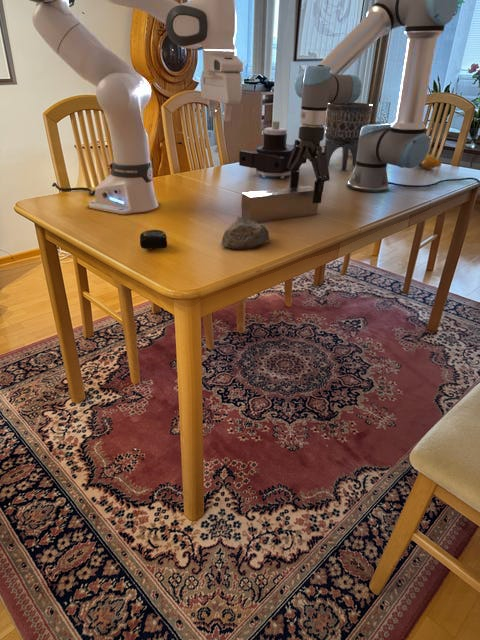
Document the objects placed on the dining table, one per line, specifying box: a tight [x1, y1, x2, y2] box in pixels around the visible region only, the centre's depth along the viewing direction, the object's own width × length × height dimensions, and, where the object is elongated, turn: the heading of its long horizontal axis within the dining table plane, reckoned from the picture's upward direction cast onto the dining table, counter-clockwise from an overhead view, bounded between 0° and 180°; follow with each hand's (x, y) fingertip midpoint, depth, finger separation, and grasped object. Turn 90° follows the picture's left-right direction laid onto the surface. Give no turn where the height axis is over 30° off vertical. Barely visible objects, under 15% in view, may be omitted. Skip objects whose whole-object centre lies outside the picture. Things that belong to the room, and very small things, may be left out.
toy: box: [417, 154, 442, 170], centre depth 212 cm, size 11×6×15 cm
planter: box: [324, 102, 374, 172], centre depth 204 cm, size 20×20×26 cm
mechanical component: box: [238, 120, 308, 179], centre depth 191 cm, size 22×21×30 cm
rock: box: [221, 216, 270, 250], centre depth 119 cm, size 13×9×6 cm, turn 131°
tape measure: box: [139, 229, 168, 250], centre depth 117 cm, size 7×7×4 cm
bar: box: [241, 185, 319, 223], centre depth 142 cm, size 24×6×8 cm, turn 116°
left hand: (219, 119), depth 129 cm, fingers open, 8 cm apart
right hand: (304, 197), depth 145 cm, fingers open, 13 cm apart
